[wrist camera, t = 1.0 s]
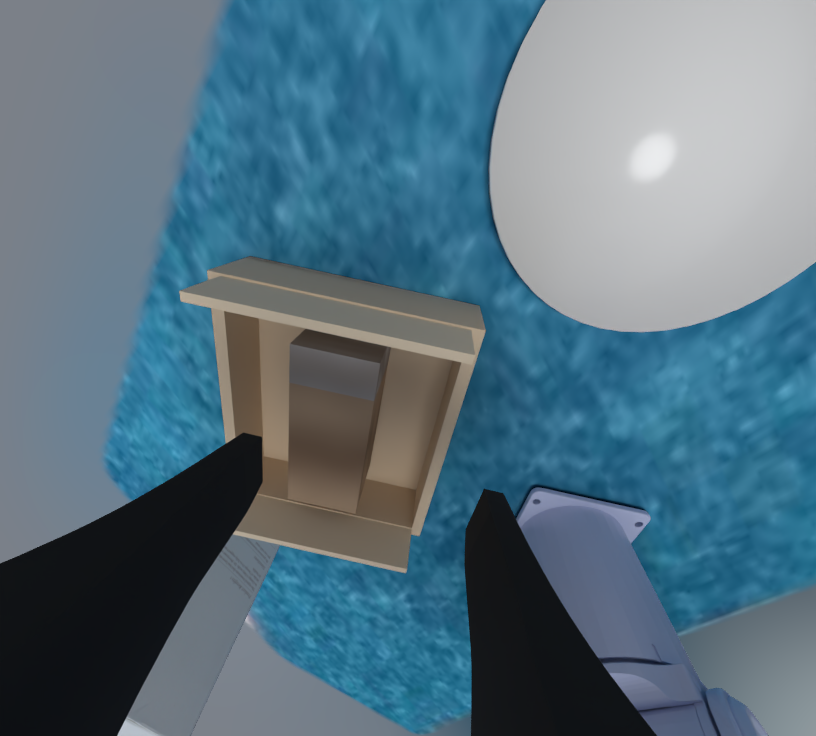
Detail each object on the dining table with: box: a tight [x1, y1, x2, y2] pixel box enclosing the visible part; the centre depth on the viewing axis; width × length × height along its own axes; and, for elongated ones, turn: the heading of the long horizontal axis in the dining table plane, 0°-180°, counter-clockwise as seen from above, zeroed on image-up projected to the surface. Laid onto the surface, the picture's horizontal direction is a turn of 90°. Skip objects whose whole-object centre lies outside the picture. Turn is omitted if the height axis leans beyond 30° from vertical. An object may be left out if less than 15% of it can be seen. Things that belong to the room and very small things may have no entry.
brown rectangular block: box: [288, 329, 391, 514], centre depth 18 cm, size 10×4×4 cm, turn 170°
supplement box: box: [117, 534, 280, 736], centre depth 22 cm, size 7×7×13 cm
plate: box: [488, 0, 816, 332], centre depth 13 cm, size 15×15×1 cm
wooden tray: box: [179, 256, 486, 573], centre depth 18 cm, size 14×12×6 cm
